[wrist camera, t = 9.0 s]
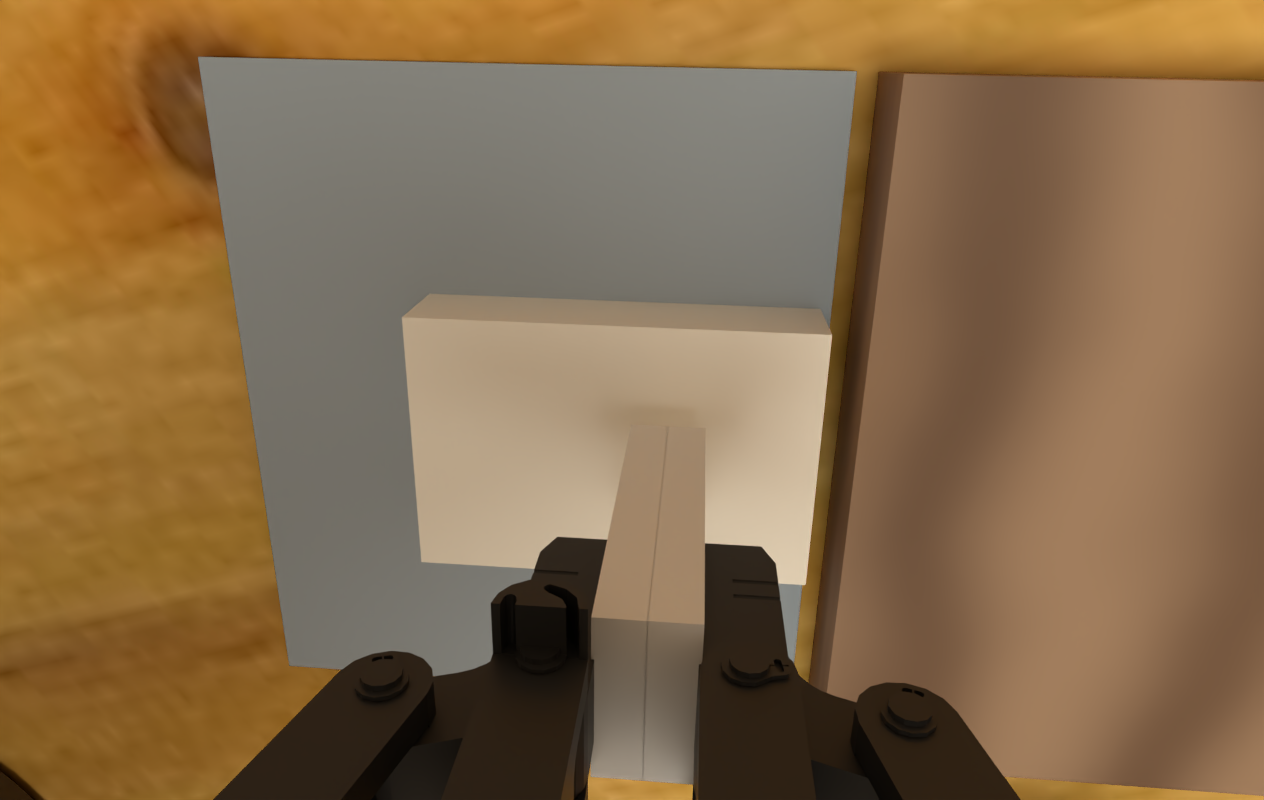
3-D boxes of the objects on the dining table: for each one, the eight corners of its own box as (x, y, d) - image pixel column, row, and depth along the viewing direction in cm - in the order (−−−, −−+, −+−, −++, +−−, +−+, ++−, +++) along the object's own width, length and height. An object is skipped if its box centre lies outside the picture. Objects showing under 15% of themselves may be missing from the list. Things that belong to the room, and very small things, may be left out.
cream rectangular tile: (444, 520, 23) (421, 561, 21) (429, 293, 20) (401, 317, 19) (797, 540, 22) (805, 585, 20) (820, 308, 20) (831, 335, 18)
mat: (294, 659, 25) (289, 665, 25) (205, 56, 19) (198, 56, 19) (788, 693, 24) (790, 700, 24) (854, 71, 18) (856, 71, 18)
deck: (807, 694, 24) (818, 762, 22) (879, 71, 18) (904, 74, 16) (1424, 737, 23) (1504, 813, 21) (1710, 90, 17) (1868, 95, 15)
